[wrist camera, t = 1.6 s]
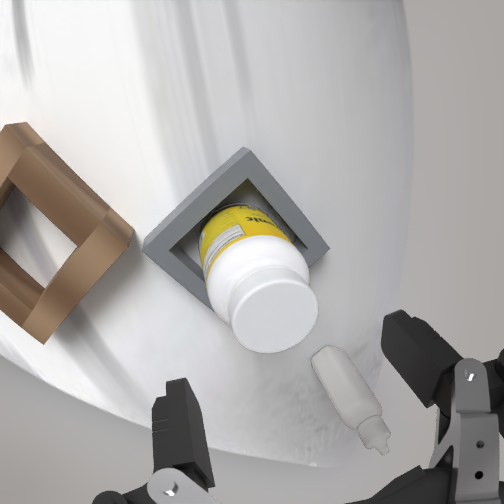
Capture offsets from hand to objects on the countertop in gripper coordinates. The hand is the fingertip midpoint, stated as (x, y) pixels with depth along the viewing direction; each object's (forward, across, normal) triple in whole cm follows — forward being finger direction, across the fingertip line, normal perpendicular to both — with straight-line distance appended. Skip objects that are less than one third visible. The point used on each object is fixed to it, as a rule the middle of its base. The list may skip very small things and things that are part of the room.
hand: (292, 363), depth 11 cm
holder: (+12, 0, 0) cm, 12 cm away
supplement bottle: (+12, 0, 0) cm, 13 cm away
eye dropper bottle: (+13, -7, +16) cm, 21 cm away
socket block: (+12, +14, -5) cm, 19 cm away
